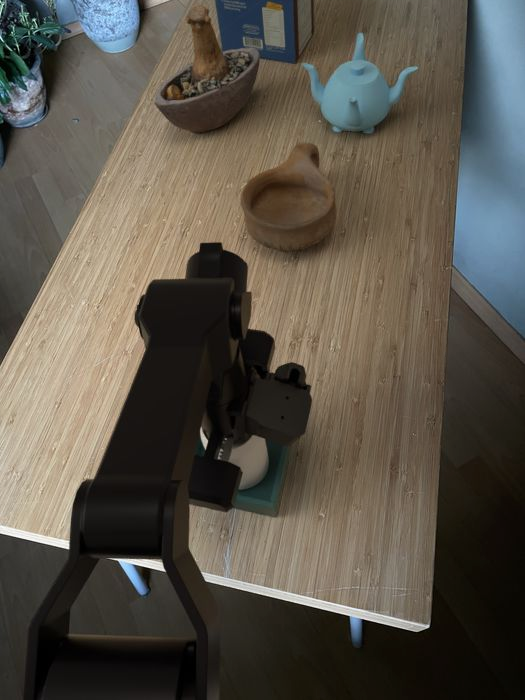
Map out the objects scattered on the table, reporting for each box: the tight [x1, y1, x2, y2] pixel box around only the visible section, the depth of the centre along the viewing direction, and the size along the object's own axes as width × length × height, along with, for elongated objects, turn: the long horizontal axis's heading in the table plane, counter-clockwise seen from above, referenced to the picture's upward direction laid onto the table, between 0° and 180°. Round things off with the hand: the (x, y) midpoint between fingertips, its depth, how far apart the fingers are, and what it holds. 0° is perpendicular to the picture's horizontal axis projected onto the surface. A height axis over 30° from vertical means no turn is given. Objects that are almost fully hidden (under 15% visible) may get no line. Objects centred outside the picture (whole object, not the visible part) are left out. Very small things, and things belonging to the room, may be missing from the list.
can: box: [200, 427, 269, 490], centre depth 65 cm, size 6×6×12 cm
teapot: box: [301, 32, 419, 134], centre depth 96 cm, size 13×13×10 cm
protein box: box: [214, 0, 315, 64], centre depth 107 cm, size 10×15×16 cm
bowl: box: [239, 141, 338, 253], centre depth 86 cm, size 18×14×10 cm
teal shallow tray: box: [195, 433, 293, 519], centre depth 69 cm, size 11×11×4 cm
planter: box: [154, 4, 261, 134], centre depth 95 cm, size 15×17×20 cm
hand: (235, 444), depth 66 cm, fingers open, 9 cm apart
